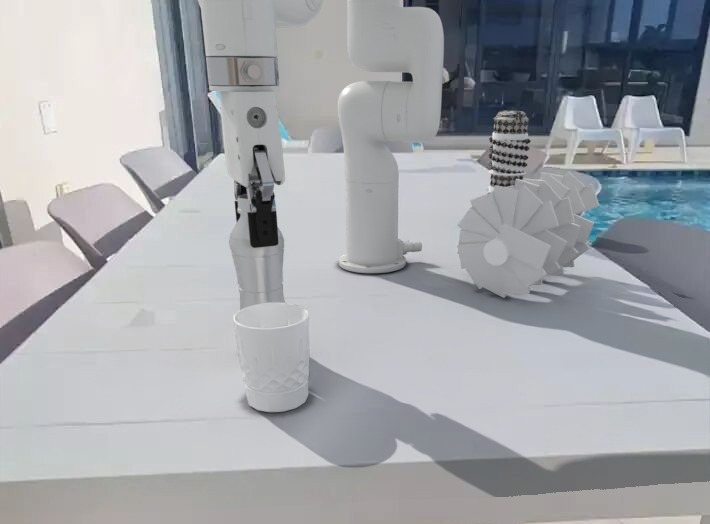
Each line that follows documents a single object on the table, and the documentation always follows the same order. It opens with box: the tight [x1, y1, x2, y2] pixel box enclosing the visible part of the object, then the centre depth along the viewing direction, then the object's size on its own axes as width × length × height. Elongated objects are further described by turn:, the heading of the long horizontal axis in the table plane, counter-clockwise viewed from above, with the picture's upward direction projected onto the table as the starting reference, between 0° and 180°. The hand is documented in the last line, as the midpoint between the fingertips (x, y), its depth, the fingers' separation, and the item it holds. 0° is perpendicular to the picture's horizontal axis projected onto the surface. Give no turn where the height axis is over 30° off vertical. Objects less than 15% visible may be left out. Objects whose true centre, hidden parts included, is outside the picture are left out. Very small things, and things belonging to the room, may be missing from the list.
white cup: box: [232, 302, 310, 413], centre depth 69 cm, size 8×8×10 cm
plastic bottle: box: [228, 193, 286, 310], centre depth 79 cm, size 6×7×20 cm
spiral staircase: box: [457, 170, 601, 299], centre depth 107 cm, size 18×18×25 cm
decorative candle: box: [487, 110, 531, 194], centre depth 147 cm, size 9×9×25 cm
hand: (257, 237), depth 77 cm, fingers closed on plastic bottle, 6 cm apart
